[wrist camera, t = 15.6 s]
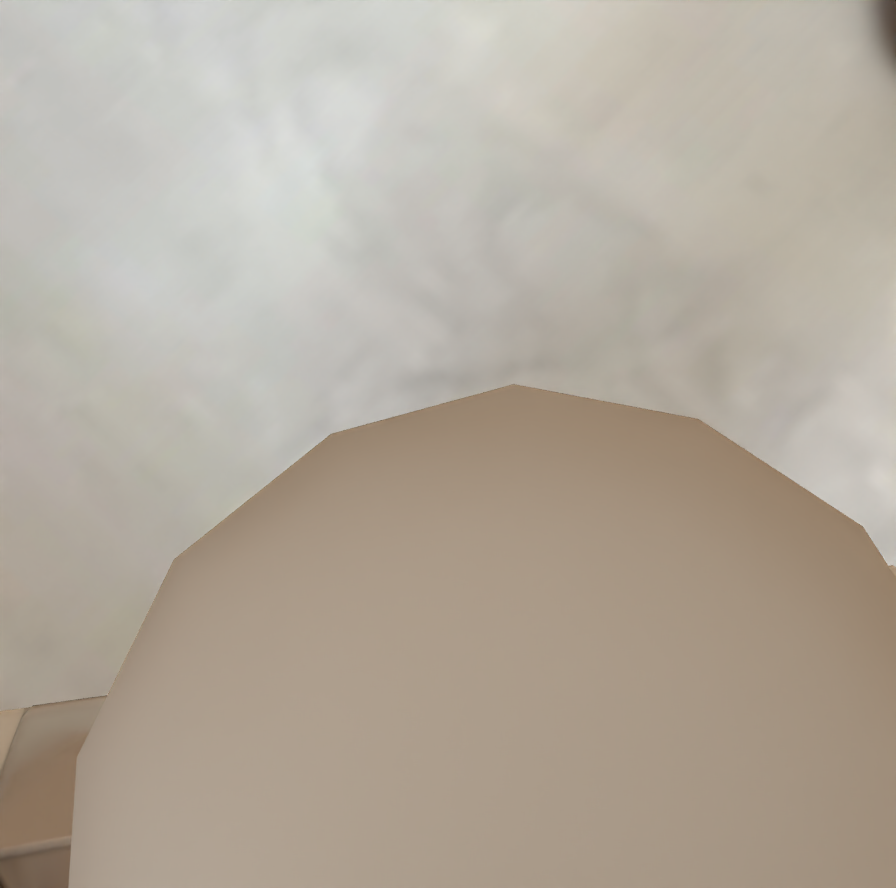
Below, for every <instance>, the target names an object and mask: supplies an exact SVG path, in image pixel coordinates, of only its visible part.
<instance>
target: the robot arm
mask: <svg viewBox="0 0 896 888" xmlns="http://www.w3.org/2000/svg"><path fill="white" fill-rule="evenodd" d="M889 568H890V569H891V571H892V572H893V574H894V575H895V577H896V567H895V566H893V565H891V566H889ZM106 697H107V695H105V696H98V697H91V698H83V699H76V700H69V701H62V702H55V703H48V704H40V705H33V706H32V707H28V708H21V709H13V710H6V711H0V888H68V886H69V871H70V855H71V840H72V825H73V809H74V794H75V779H76V763H77V756H78V754H79V752H80V750H81V748H82V746H83V744H84V742H85V740H86V738H87V736H88V734H89V732H90V730H91V728H92V726H93V724H94V722H95V720H96V717H97V715H98V713H99V711H100V709H101V707H102V705H103V703H104V701H105V699H106Z"/></svg>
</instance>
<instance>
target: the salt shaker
mask: <svg viewBox="0 0 896 888" xmlns="http://www.w3.org/2000/svg"><path fill="white" fill-rule="evenodd" d="M68 888H896V577H895V575H894V574H893V572H892V571H891V569H890V568H889V566H888V565H887V563H886V562H885V560H884V558H883V557H882V555H881V554H880V552H879V551H878V549H877V548H876V546H875V545H874V543H873V541H872V540H871V538H870V537H869V535H868V534H867V532H866V531H865V529H864V528H863V526H861V525H860V524H858V523H857V522H855V521H854V520H852V519H850V518H849V517H847V516H846V515H844V514H843V513H841V512H840V511H838V510H837V509H835V508H834V507H832V506H831V505H829V504H827V503H826V502H824V501H823V500H821V499H820V498H818V497H817V496H815V495H814V494H812V493H811V492H809V491H808V490H806V489H805V488H803V487H801V486H800V485H798V484H797V483H795V482H794V481H792V480H791V479H789V478H788V477H786V476H785V475H783V474H782V473H780V472H779V471H777V470H775V469H774V468H772V467H771V466H769V465H768V464H766V463H765V462H763V461H762V460H760V459H759V458H757V457H756V456H754V455H753V454H751V453H749V452H748V451H746V450H745V449H743V448H742V447H740V446H739V445H737V444H736V443H734V442H733V441H731V440H730V439H728V438H727V437H725V436H723V435H722V434H720V433H719V432H717V431H716V430H714V429H713V428H711V427H710V426H708V425H707V424H705V423H704V422H702V421H701V420H699V419H695V418H690V417H685V416H679V415H674V414H669V413H663V412H658V411H653V410H648V409H642V408H637V407H632V406H626V405H621V404H616V403H611V402H605V401H600V400H595V399H589V398H584V397H579V396H573V395H568V394H563V393H558V392H552V391H547V390H542V389H536V388H531V387H526V386H520V385H515V384H513V385H509V386H505V387H502V388H498V389H494V390H491V391H487V392H483V393H480V394H476V395H472V396H469V397H465V398H461V399H458V400H454V401H450V402H447V403H443V404H439V405H436V406H432V407H428V408H425V409H421V410H417V411H414V412H410V413H406V414H403V415H399V416H395V417H392V418H388V419H384V420H381V421H377V422H373V423H369V424H366V425H362V426H358V427H355V428H351V429H347V430H344V431H340V432H336V433H333V434H330V435H329V436H328V437H327V438H325V439H324V440H323V441H322V442H320V443H319V444H318V445H317V446H315V447H314V448H313V449H312V450H310V451H309V452H308V453H307V454H305V455H304V456H303V457H302V458H300V459H299V460H298V461H297V462H295V463H294V464H293V465H292V466H290V467H289V468H288V469H287V470H285V471H284V472H283V473H282V474H280V475H279V476H278V477H277V478H275V479H274V480H273V481H272V482H270V483H269V484H268V485H267V486H265V487H264V488H263V489H262V490H260V491H259V492H258V493H257V494H255V495H254V496H253V497H252V498H250V499H249V500H248V501H247V502H245V503H244V504H243V505H242V506H240V507H239V508H238V509H237V510H235V511H234V512H233V513H232V514H230V515H229V516H228V517H227V518H225V519H224V520H223V521H221V522H220V523H219V524H218V525H216V526H215V527H214V528H213V529H211V530H210V531H209V532H208V533H206V534H205V535H204V536H203V537H201V538H200V539H199V540H198V541H196V542H195V543H194V544H193V545H191V546H190V547H189V548H188V549H186V550H185V551H184V552H183V553H181V554H180V555H179V556H178V557H176V558H175V559H174V560H173V562H172V565H171V567H170V569H169V571H168V573H167V575H166V577H165V579H164V581H163V583H162V585H161V587H160V589H159V591H158V593H157V595H156V597H155V599H154V601H153V603H152V605H151V607H150V609H149V611H148V613H147V616H146V618H145V620H144V622H143V624H142V626H141V628H140V630H139V632H138V634H137V636H136V638H135V640H134V642H133V644H132V646H131V648H130V650H129V652H128V654H127V656H126V658H125V660H124V662H123V664H122V666H121V669H120V671H119V673H118V675H117V677H116V679H115V681H114V683H113V685H112V687H111V689H110V691H109V693H108V695H107V697H106V699H105V701H104V703H103V705H102V707H101V709H100V711H99V713H98V715H97V717H96V720H95V722H94V724H93V726H92V728H91V730H90V732H89V734H88V736H87V738H86V740H85V742H84V744H83V746H82V748H81V750H80V752H79V754H78V756H77V763H76V779H75V794H74V809H73V825H72V840H71V855H70V871H69V886H68Z"/></svg>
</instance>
